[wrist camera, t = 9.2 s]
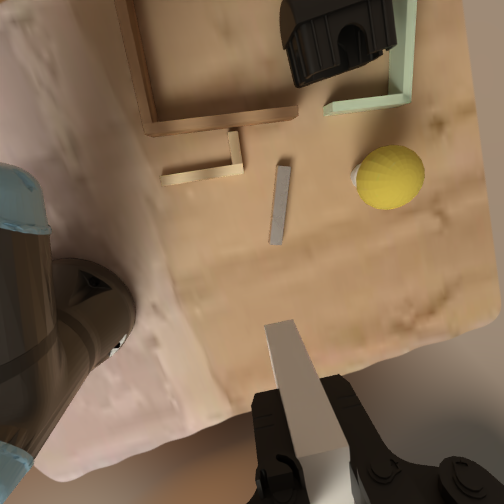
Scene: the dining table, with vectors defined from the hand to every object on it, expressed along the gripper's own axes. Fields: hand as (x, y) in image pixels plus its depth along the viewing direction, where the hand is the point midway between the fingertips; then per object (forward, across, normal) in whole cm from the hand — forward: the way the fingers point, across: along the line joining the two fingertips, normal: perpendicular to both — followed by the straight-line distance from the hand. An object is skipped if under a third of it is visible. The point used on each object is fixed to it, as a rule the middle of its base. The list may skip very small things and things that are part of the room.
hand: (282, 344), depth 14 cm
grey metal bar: (+24, +5, +3) cm, 25 cm away
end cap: (+24, +13, +20) cm, 34 cm away
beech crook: (+24, -4, +10) cm, 26 cm away
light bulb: (+24, +16, +4) cm, 29 cm away
